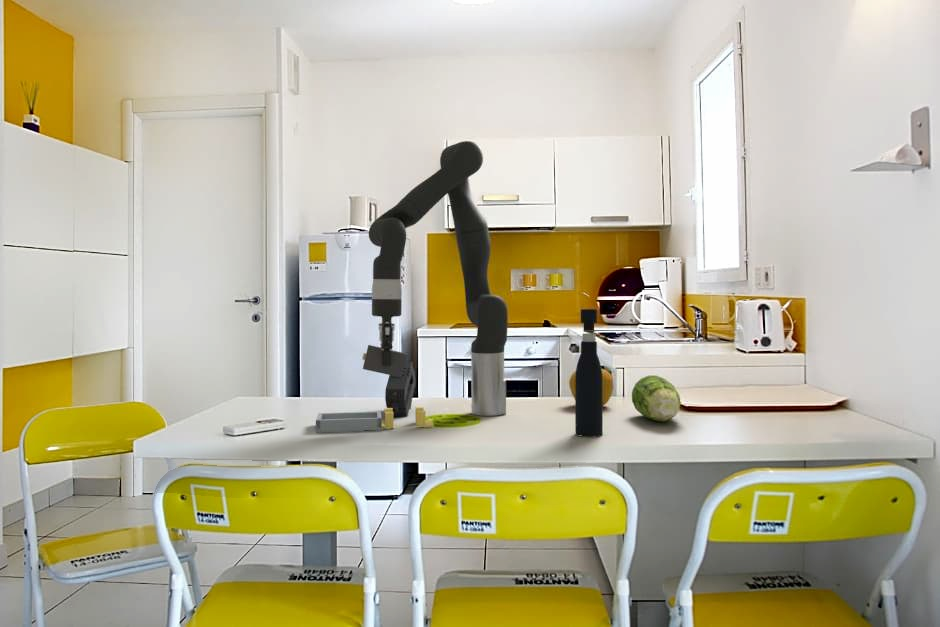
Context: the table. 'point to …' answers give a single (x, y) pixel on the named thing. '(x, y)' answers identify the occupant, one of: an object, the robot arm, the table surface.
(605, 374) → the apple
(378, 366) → the grey slab
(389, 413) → the blocks
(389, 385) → the tool
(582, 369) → the wine bottle
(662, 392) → the lettuce
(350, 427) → the tray
